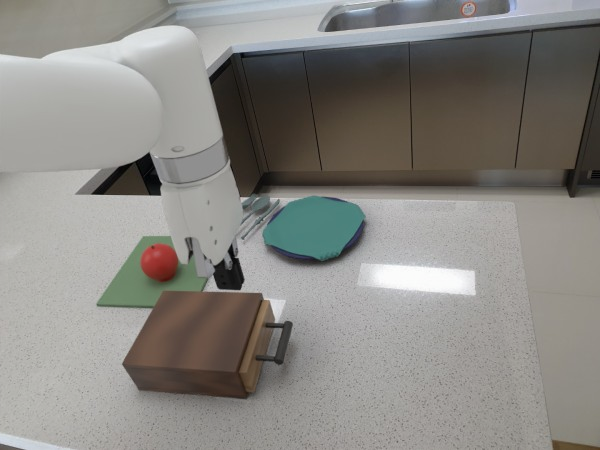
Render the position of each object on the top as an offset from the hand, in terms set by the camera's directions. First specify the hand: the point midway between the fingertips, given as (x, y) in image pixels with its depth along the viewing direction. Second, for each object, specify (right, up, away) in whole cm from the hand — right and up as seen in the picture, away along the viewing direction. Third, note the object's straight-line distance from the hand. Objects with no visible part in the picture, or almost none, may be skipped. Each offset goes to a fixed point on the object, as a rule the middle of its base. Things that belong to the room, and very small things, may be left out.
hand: (231, 285), depth 58 cm
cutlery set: (+7, +7, +38) cm, 39 cm away
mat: (-18, -1, +34) cm, 39 cm away
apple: (-18, +1, +30) cm, 35 cm away
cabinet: (-6, -13, +16) cm, 21 cm away
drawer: (-3, -12, +14) cm, 19 cm away
